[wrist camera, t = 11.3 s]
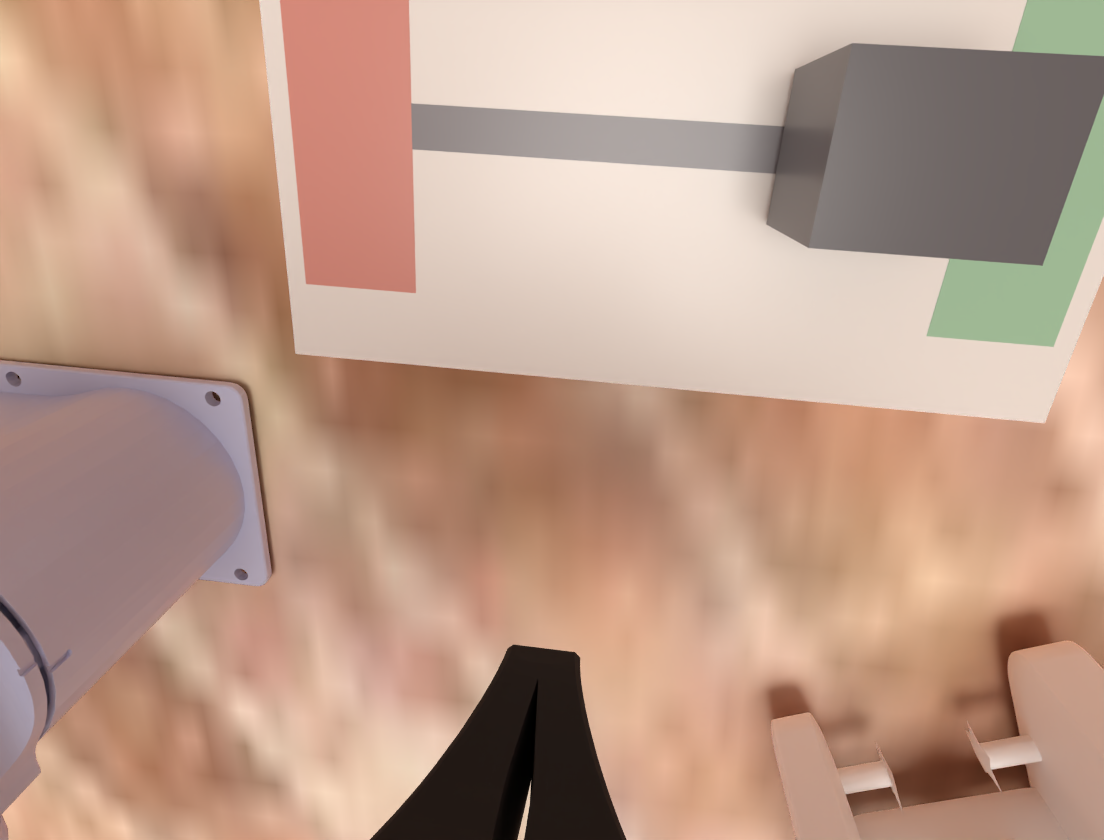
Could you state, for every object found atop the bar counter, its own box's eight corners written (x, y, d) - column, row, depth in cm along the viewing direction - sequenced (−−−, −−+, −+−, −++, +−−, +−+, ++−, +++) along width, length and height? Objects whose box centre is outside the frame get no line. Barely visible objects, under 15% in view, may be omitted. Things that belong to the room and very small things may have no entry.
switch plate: (332, 330, 20) (295, 353, 18) (295, -153, 16) (238, -204, 13) (994, 389, 19) (1045, 423, 17) (1176, -124, 14) (1284, -177, 12)
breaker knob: (766, 224, 15) (808, 247, 12) (795, 69, 14) (852, 43, 10) (943, 237, 15) (1042, 265, 11) (990, 80, 13) (1117, 56, 10)
